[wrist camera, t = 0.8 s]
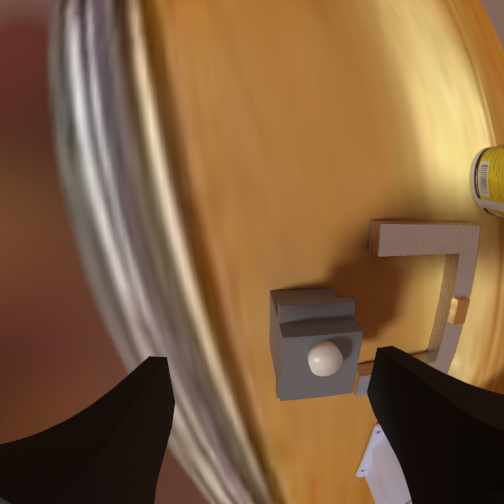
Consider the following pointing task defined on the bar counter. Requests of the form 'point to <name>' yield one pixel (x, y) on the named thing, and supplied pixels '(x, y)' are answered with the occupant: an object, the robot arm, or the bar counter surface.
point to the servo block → (313, 343)
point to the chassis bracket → (453, 285)
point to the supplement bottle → (489, 180)
